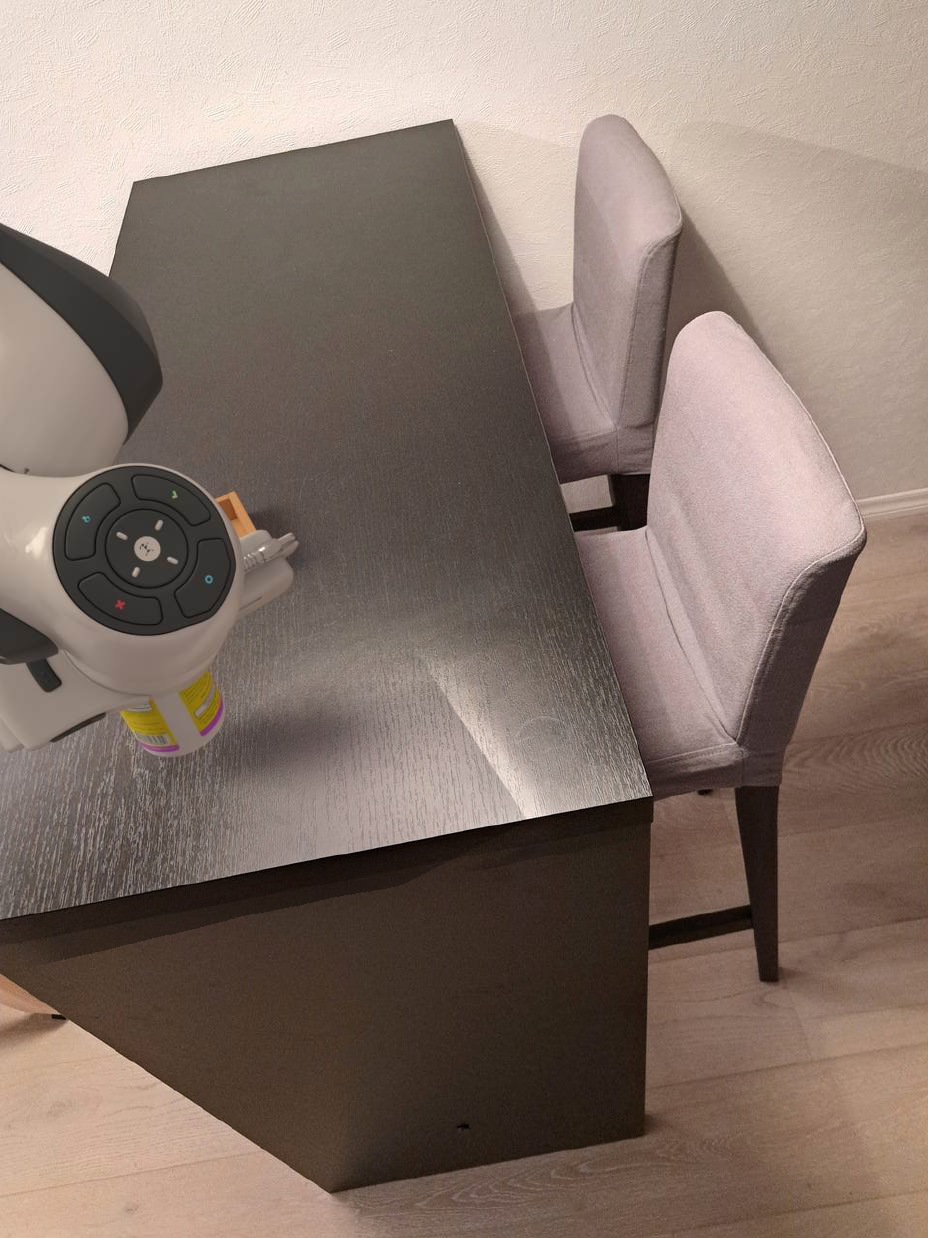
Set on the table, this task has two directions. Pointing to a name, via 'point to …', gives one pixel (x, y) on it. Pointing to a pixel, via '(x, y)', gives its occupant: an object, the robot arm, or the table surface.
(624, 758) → the table surface
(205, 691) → the supplement bottle
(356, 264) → the table surface
